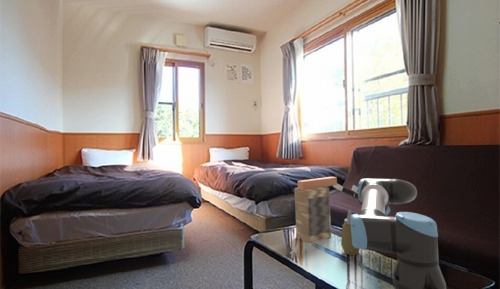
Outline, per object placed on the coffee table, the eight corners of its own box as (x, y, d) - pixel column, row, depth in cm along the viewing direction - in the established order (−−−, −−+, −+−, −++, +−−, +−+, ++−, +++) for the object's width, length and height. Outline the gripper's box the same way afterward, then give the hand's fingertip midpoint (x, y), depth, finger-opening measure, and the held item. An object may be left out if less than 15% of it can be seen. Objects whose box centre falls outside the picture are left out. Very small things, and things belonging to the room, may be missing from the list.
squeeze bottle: (363, 256, 120) (361, 213, 120) (342, 256, 122) (340, 213, 121) (359, 249, 128) (357, 208, 128) (340, 249, 129) (338, 208, 129)
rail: (331, 184, 155) (331, 176, 155) (337, 185, 151) (336, 177, 151) (297, 188, 145) (297, 180, 145) (302, 189, 142) (302, 181, 141)
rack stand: (318, 232, 154) (316, 185, 154) (331, 237, 145) (329, 187, 145) (296, 236, 148) (294, 188, 148) (309, 242, 139) (306, 190, 139)
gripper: (385, 211, 152) (358, 195, 144) (349, 203, 174) (324, 189, 166) (389, 198, 154) (363, 181, 145) (353, 191, 176) (329, 177, 168)
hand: (343, 185), depth 156 cm, fingers open, 13 cm apart
